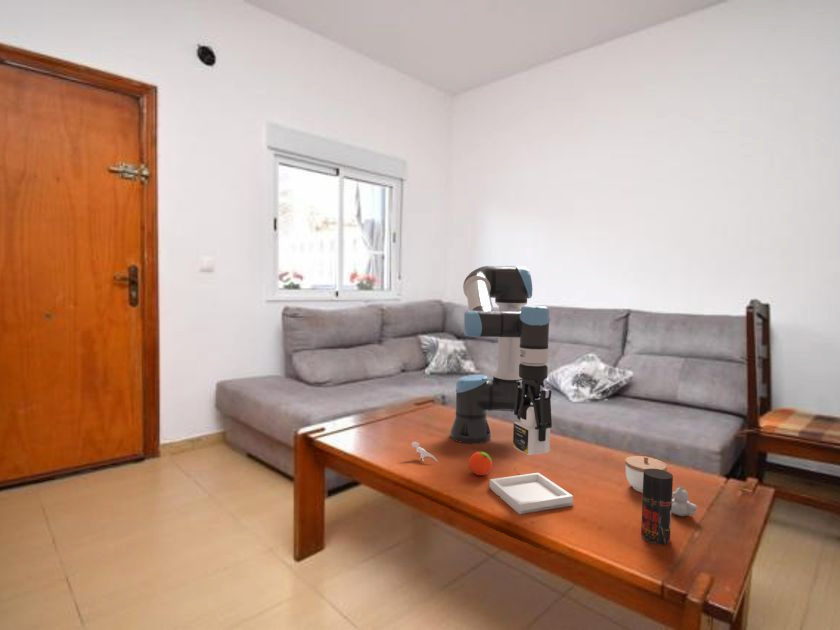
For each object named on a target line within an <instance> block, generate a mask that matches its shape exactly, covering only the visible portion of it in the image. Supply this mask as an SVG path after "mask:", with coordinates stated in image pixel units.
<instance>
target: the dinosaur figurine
mask: <svg viewBox="0 0 840 630" xmlns="http://www.w3.org/2000/svg"><path fill="white" fill-rule="evenodd" d="M410 445H411V447H412V448H416V449H415V453H417V452H418V453H420V455H419V456H420V458H422V460H421V462H422V461H424V462H425V459H423V458H425V457H429V458H433V460H435V461H436V462H439V461H438V459H437V458H436V457H435V456H434V455H433V454H432V453H429V452H428V451H426V450H425V449H424V448H422V447H420V443H418V442H417V441H412V442H411V443H410Z"/></svg>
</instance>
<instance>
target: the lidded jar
mask: <svg viewBox="0 0 840 630" xmlns="http://www.w3.org/2000/svg"><path fill="white" fill-rule="evenodd" d="M624 464H625V465H624V466H625V467H624V468H625V477H626V479H627V482H628V483H629V484H630V485H631V487H632V488H633V490H635V491H637V492H638V493H642V494H643V473H644V470H645V469H660V470H664V471H667V472H668V465H667V464H666V463H665V462H663V461H662V460H659V459H656V458H654V457H649V456H641V455H631V456H627V457H626V458H625V459H624Z"/></svg>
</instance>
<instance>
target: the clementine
mask: <svg viewBox="0 0 840 630" xmlns="http://www.w3.org/2000/svg"><path fill="white" fill-rule="evenodd" d="M492 465H493V460H492V458H491V456H490V455H489V454H488V453H487V452H485V451H480V450H479V451H475V452H474V453H472V455H471V456H470V458H469V460H468V466H469V468H470V470H471V472H473V474H475V475H477V476H485V475H487V474H489V472H490V471H491V469H492V467H493V466H492Z"/></svg>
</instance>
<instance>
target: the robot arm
mask: <svg viewBox="0 0 840 630" xmlns="http://www.w3.org/2000/svg"><path fill="white" fill-rule="evenodd" d="M532 280H533V279H532V276H531V271H530V270H529V269H528V268H527V267H526V266H520V265H485V266H481V267H477V268H476V269H473V271H471V272H469V273H468V274H467V276H466V277H465V279H464V281H463V286H462V288H463V293H464V295H465V297H466V299H467V306H468V307H467V308H468V310H466V311H465V312H464V313H463V334H464V336H466V337H475V338H497V339H498V340H497V343H498V344H497V368H496V369H497V370H496V371H495V372H494V373H493V375H492V379H489V378H488V376H487V375H485V374H470V375H465V376H462V377H459V378H458V379H457V381H456V388H455V394H456V395H455V417H454V421H453V423H452V426H451V429H450V438H451V437H452V438H453V439H455V440H454V441H456V440H457V441H456V442H458V441H461V442H460V443H463V442H466V443H465V444H482V443H481V442H484V443H487V442H489V441H490V440H491V439H492V437H491V436H492V434H491V433H492V432H491V429H490V424H489V422H488V419H487V418H488V417H487V412H488V411H489V412H492V411H493V412H511V413H512V412H513V415H514V416H516V417H517V420H518V421H521V420H520V416H521V407H522V406H523V405H527V404H533V407H534V413H535V418H536V424H537V427H535V442H534V453H540V454H545V453H544V452H545V440H546V429H547V428H550V429H552V428H553V427H552V425H553V423H552V405H551V403H552V402H551V398H552V393H553V392H552V389H547V388H546V387H545V383H544V381H545V380H546V379H548V375H549V374H548V372H549V366H548V365H547V364H548V363H549V339H550V338H549V337H550V321H551V319H550V310H549V307H548V306H544V305H528V299H529V300H530V299H531V298H532V297H533V281H532ZM493 298H494V299H495V300H494V301H495V302H494V303H495V304H496V305H497V306H498V310H496V311H495V310H494V306H493V303H492V299H493ZM452 438H451V439H452ZM490 438H491V439H490ZM453 439H452V440H453ZM488 440H489V441H488ZM486 441H487V442H486Z"/></svg>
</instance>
